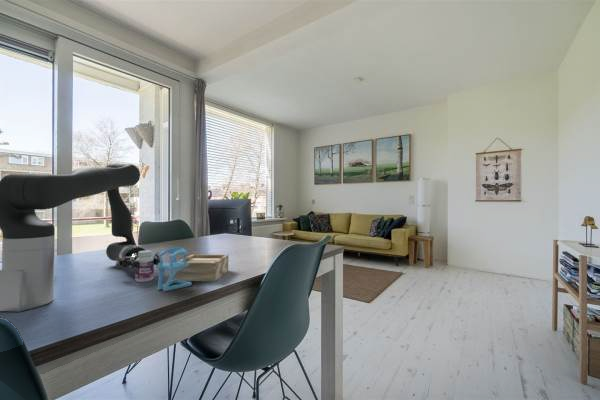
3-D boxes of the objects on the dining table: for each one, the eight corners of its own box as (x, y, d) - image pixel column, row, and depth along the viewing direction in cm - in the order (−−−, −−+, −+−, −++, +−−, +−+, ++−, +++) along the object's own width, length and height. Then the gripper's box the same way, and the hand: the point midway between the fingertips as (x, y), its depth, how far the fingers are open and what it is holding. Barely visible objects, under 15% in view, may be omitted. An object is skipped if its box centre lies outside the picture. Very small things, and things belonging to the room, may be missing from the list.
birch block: (215, 281, 87) (215, 263, 87) (173, 280, 87) (174, 262, 87) (228, 270, 101) (228, 254, 101) (192, 269, 101) (192, 254, 101)
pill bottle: (139, 283, 84) (139, 253, 84) (132, 280, 87) (132, 251, 87) (156, 279, 88) (157, 251, 88) (149, 276, 91) (149, 249, 92)
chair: (151, 289, 79) (152, 249, 79) (175, 281, 86) (176, 245, 86) (169, 293, 75) (169, 251, 75) (192, 285, 83) (192, 247, 83)
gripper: (109, 248, 93) (121, 254, 81) (154, 243, 103) (170, 249, 91) (109, 269, 92) (121, 279, 81) (154, 262, 103) (170, 270, 91)
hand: (147, 263), depth 86 cm, fingers closed on pill bottle, 5 cm apart
